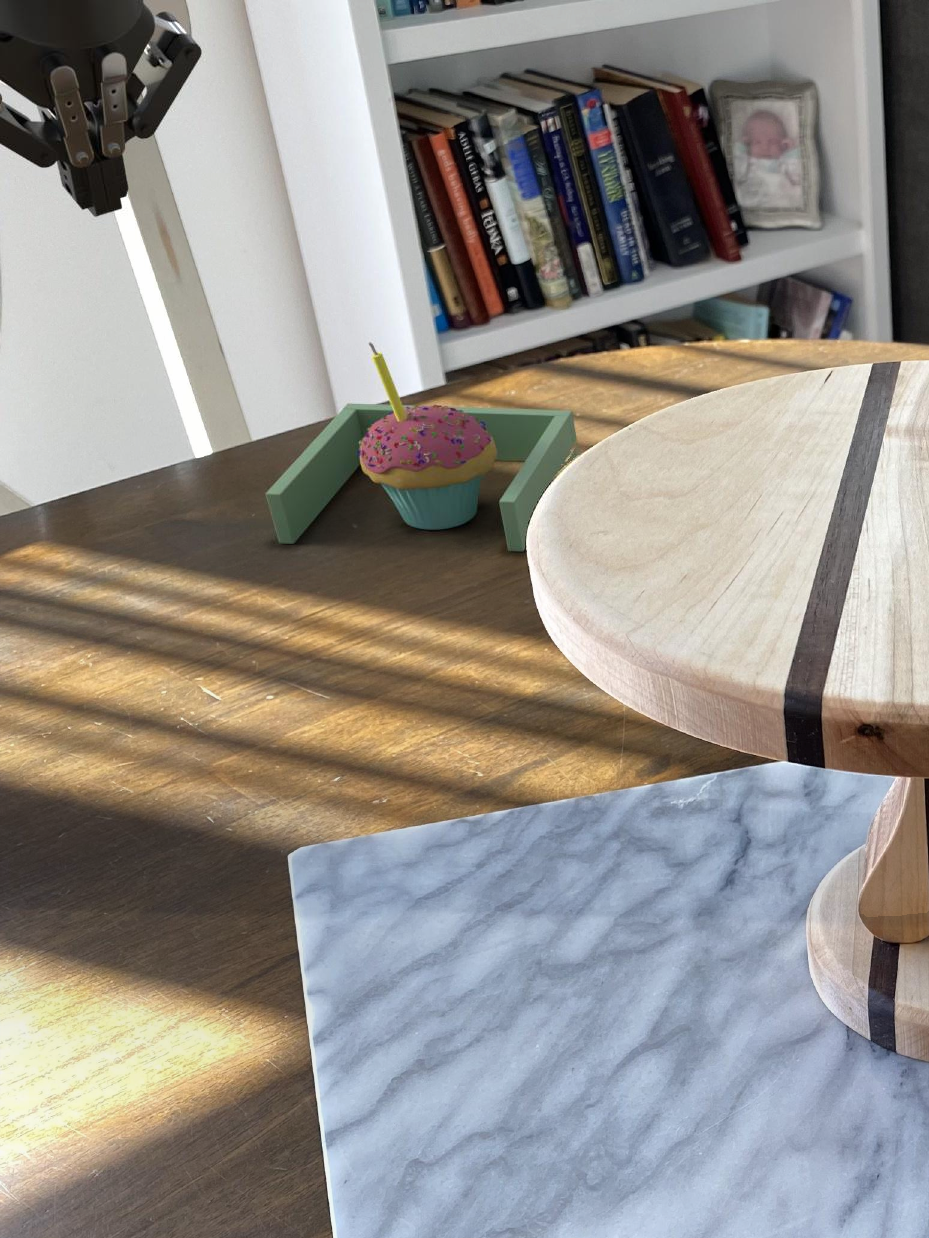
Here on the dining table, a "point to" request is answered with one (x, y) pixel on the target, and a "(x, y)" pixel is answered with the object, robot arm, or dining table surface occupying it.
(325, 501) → the corral
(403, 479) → the cupcake
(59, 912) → the dining table surface
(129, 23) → the robot arm
